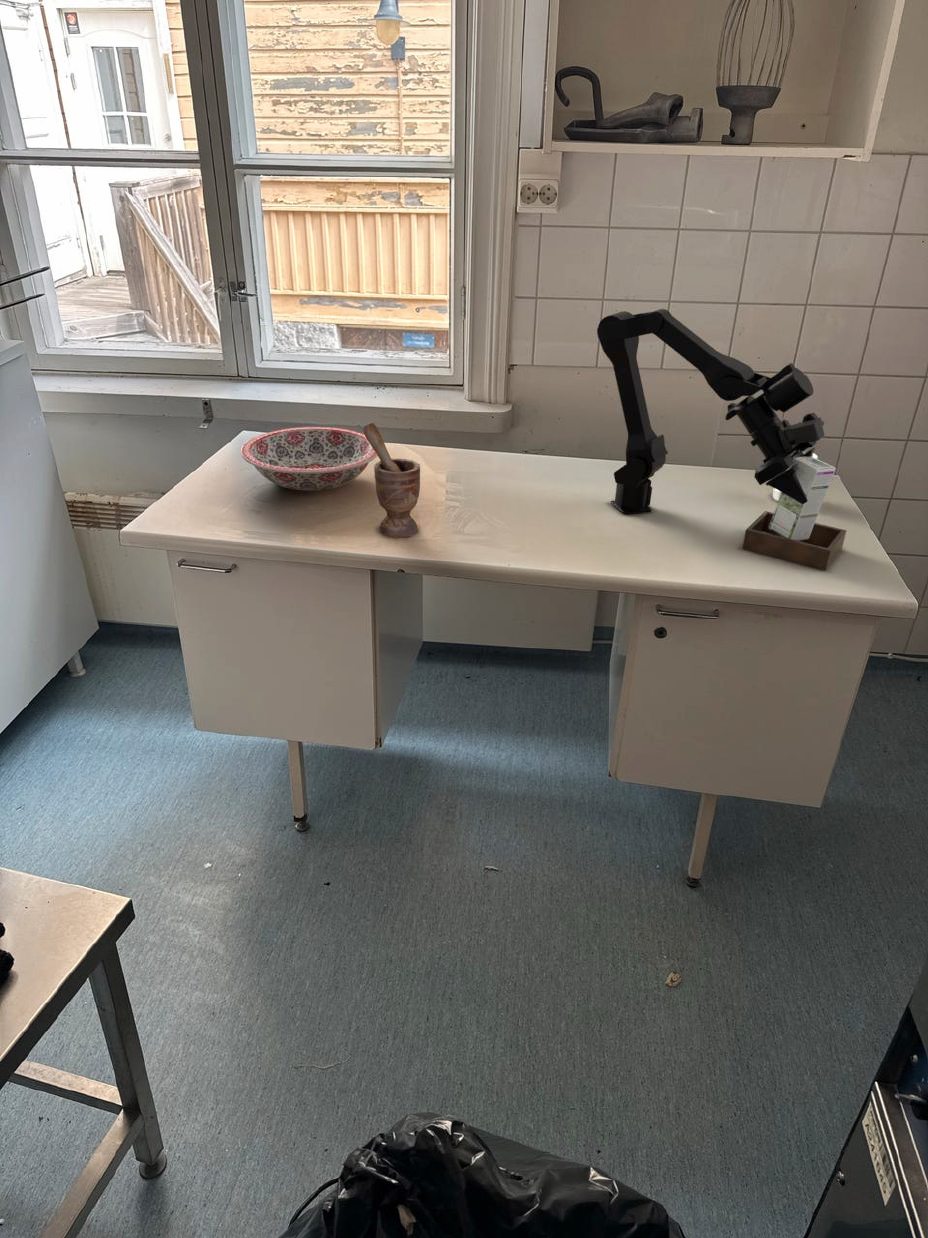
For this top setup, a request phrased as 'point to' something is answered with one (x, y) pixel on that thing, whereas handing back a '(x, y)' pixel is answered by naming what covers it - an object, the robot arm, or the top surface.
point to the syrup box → (799, 517)
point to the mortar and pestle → (394, 487)
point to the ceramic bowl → (309, 456)
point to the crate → (795, 543)
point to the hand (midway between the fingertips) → (811, 496)
